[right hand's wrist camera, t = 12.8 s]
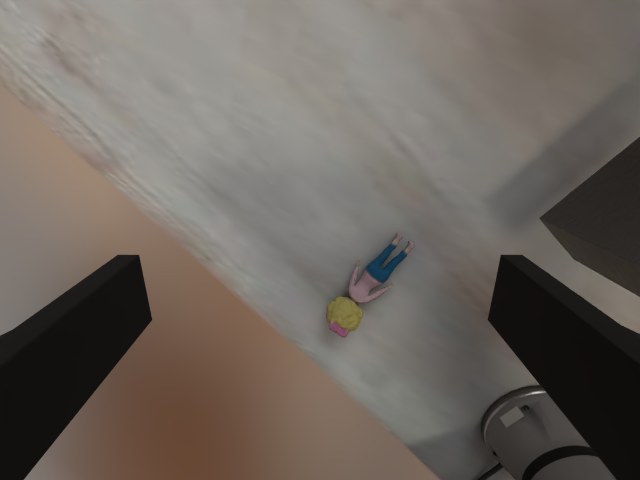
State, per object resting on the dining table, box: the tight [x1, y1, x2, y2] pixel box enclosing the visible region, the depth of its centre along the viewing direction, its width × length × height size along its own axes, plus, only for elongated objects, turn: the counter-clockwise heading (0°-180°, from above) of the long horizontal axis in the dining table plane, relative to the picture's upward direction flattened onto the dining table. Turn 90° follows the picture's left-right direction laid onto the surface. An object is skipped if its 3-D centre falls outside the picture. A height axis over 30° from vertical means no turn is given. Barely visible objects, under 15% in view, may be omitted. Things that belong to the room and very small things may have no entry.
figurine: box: [327, 232, 414, 337], centre depth 44 cm, size 6×4×15 cm
